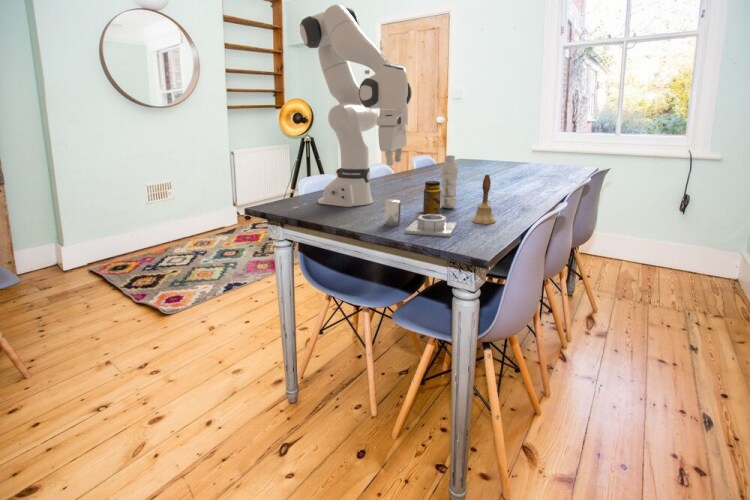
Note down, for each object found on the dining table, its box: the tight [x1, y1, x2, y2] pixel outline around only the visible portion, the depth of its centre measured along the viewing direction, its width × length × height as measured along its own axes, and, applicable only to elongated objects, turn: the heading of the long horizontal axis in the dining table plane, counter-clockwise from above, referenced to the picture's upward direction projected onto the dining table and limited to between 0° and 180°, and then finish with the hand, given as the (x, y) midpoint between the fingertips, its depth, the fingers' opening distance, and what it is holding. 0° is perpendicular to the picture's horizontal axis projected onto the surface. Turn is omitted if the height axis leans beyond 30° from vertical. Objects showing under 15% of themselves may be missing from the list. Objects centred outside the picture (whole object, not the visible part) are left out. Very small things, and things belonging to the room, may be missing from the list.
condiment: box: [414, 180, 444, 217], centre depth 166 cm, size 7×8×12 cm
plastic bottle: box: [439, 154, 459, 210], centre depth 174 cm, size 6×7×20 cm
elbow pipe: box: [384, 198, 401, 227], centre depth 153 cm, size 5×5×8 cm
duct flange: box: [404, 214, 458, 238], centre depth 146 cm, size 14×14×4 cm
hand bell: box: [470, 174, 497, 225], centre depth 155 cm, size 8×8×16 cm
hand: (394, 163), depth 148 cm, fingers open, 8 cm apart
